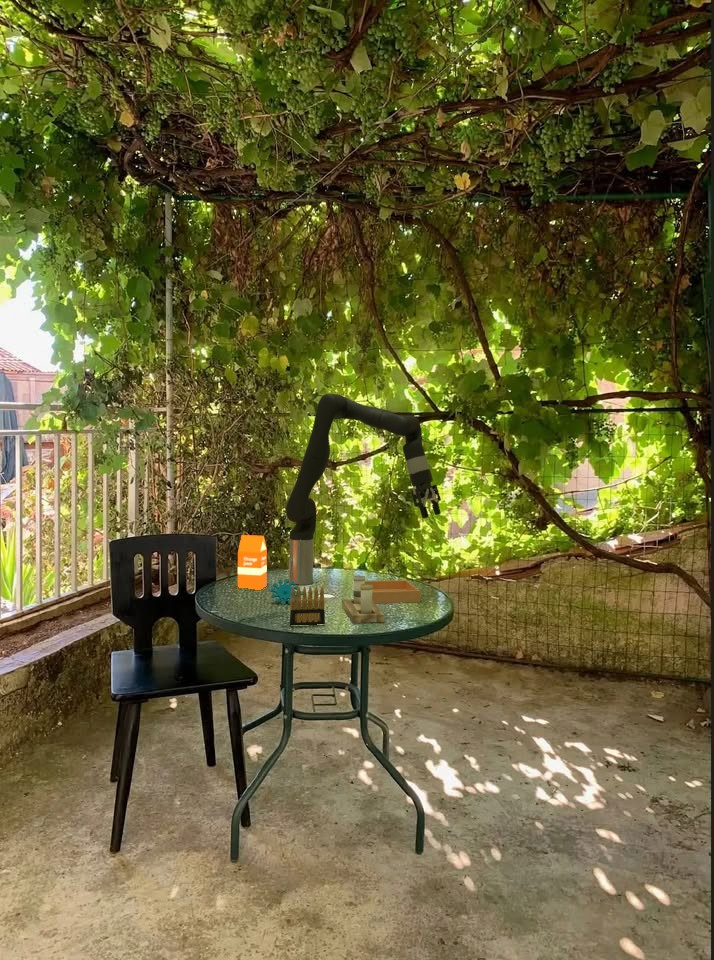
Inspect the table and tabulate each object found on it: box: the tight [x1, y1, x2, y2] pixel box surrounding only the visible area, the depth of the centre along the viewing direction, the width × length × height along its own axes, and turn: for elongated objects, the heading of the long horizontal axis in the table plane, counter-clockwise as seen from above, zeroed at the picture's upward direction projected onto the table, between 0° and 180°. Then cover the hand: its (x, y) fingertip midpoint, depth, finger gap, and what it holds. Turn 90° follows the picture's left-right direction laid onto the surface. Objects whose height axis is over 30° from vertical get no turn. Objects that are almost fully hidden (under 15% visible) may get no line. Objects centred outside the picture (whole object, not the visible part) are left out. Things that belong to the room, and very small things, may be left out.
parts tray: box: [364, 579, 421, 605], centre depth 252 cm, size 18×18×4 cm
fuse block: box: [341, 598, 385, 624], centre depth 227 cm, size 10×21×2 cm, turn 10°
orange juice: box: [237, 534, 268, 590], centre depth 261 cm, size 8×9×20 cm
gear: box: [270, 578, 303, 606], centre depth 243 cm, size 11×6×10 cm
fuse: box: [360, 584, 373, 614], centre depth 221 cm, size 4×4×11 cm
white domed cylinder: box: [352, 574, 366, 604], centre depth 233 cm, size 4×4×11 cm
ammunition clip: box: [289, 585, 326, 626], centre depth 213 cm, size 11×2×12 cm, turn 100°
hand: (431, 516), depth 242 cm, fingers open, 8 cm apart
